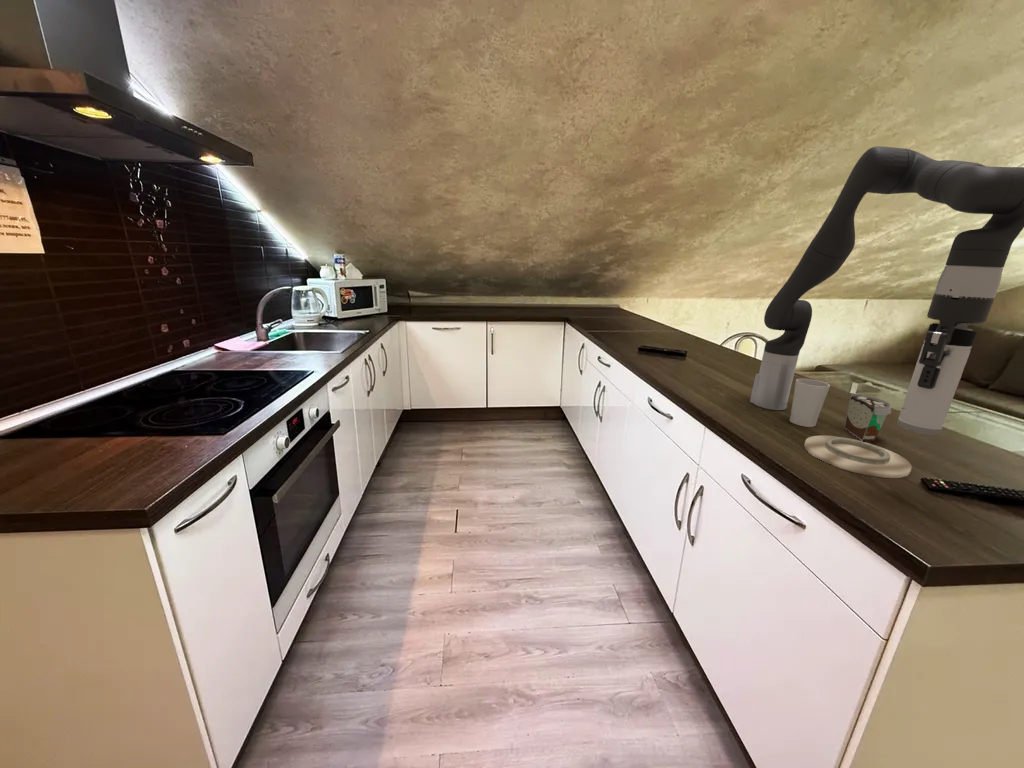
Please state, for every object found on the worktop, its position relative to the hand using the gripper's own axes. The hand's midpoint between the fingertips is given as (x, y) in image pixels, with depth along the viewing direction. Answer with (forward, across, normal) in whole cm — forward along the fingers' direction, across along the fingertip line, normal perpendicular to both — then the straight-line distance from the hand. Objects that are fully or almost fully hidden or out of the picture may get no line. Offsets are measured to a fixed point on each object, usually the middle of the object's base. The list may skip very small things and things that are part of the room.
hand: (932, 385), depth 80 cm
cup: (+23, -25, -30) cm, 45 cm away
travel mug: (+9, 0, 0) cm, 9 cm away
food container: (+23, -31, -17) cm, 42 cm away
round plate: (+23, -12, -12) cm, 28 cm away
